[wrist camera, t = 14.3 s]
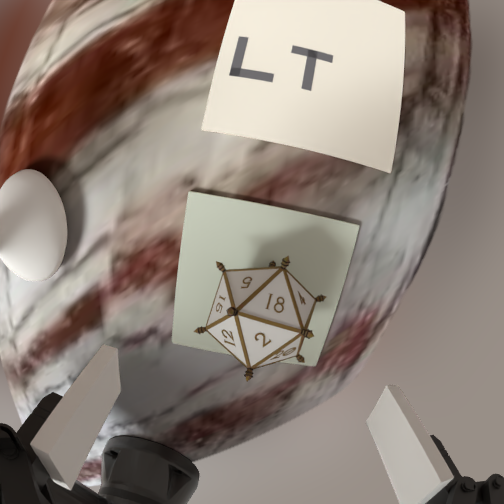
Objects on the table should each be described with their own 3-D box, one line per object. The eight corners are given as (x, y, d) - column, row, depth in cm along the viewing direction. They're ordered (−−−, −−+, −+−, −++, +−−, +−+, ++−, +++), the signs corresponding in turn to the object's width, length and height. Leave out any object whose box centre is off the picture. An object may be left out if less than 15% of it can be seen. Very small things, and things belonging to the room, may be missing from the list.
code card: (389, 173, 22) (391, 173, 21) (201, 130, 21) (201, 129, 21) (404, 12, 17) (405, 11, 17) (245, -30, 16) (245, -31, 16)
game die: (277, 266, 27) (369, 284, 19) (250, 351, 26) (331, 395, 18) (196, 233, 22) (284, 241, 14) (163, 337, 21) (231, 402, 13)
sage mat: (314, 362, 26) (315, 366, 26) (173, 339, 26) (171, 342, 25) (357, 224, 23) (359, 225, 22) (190, 191, 22) (188, 191, 22)
